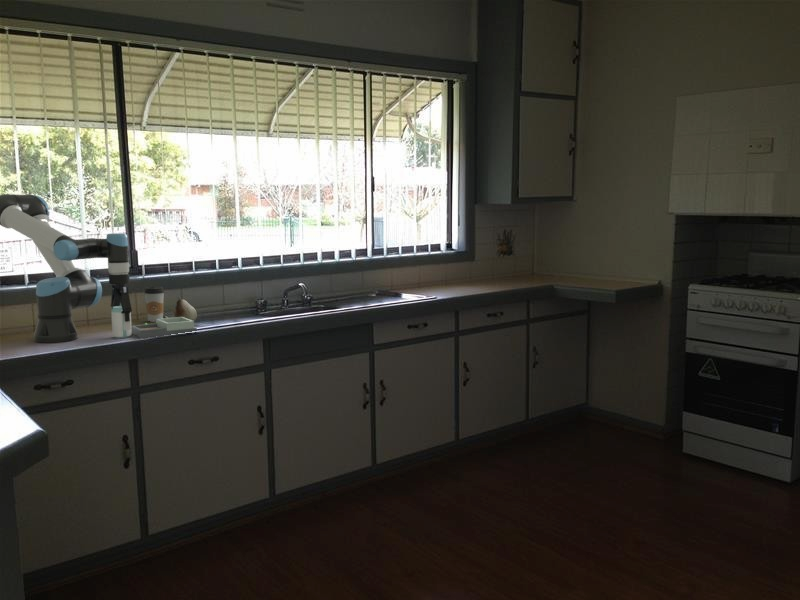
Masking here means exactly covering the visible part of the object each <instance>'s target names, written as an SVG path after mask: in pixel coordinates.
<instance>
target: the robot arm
mask: <svg viewBox="0 0 800 600" xmlns="http://www.w3.org/2000/svg"><path fill="white" fill-rule="evenodd" d="M49 210H50V207H49V205H48V202H47V201H46V200H45V199H44V198H43V197H41V196H40V195H39V196H38V195H36V194H29V193H26V194H10V193H4V194H0V226H1V227H3V228H5V229H12V230H14V231H16V232H18V233H19V234H22V235H23V236H26V238H29V239H30V240H32V241H33V243H34V244H35V246H36V248H37V249H38V250H39V252H40V254H41V255H42V257H43V258H44V260H45V261H46V263H47V264H48V266H49V267H50V269H51V271H52V272H53V273H54V275H55V276H56V277H49V278H45V279H42V280H39V281H38V282H37V283H36V286H35V289H36V290H35V296H36V308H37V323H36V326H35V330H34V334H33V341H34V342H37V343H42V344H43V343H44V344H45V343H48V344H49V343H63V342H69V341H73V340H77V339H78V338H79V337H78V333H79V332H78V330H77V328H76V325H75V323H74V321H73V317H72V310H75V309H76V310H77V309H83V308H89V307H91V306H92V307H93V306H95V305H97V304H98V303H99V302H100V300H101V298H102V294H103V287H102V284H101V282H100V280H99V279H98V278H96V277H94V276H89V275H88V273H87V272H86V270H85V269H83V268H79V267H78V265H77V264H76V262H75V260H87V259H89V260H91V259H107V270H108V271H107V272H108V273H109V275H108V283H109V284H110V285H111V299H110V307H111V310H112V309H113V307H115V306H122V310H123V311H122V312H121V314H122V318H123V330H131V326H132V320H131V321H130V312H131V313H132V311H133V309H132V304H131V299H130V294H129V287H128V286H126V284H130V282H131V276H130V274H129V272H130V267H131V264H130V262H129V261H130V260H129V241H128V235H127V234H125V233H107V234H106V238H92V237H91V238H90V237H89V238H83V239H81V238H80V239H74V238H72V237H71V236H68V235H66V234H65V233H62V232H61V231H59V230H57V229H55V228H54V227H51V225H50V223H49V221H50V211H49Z"/></svg>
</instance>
